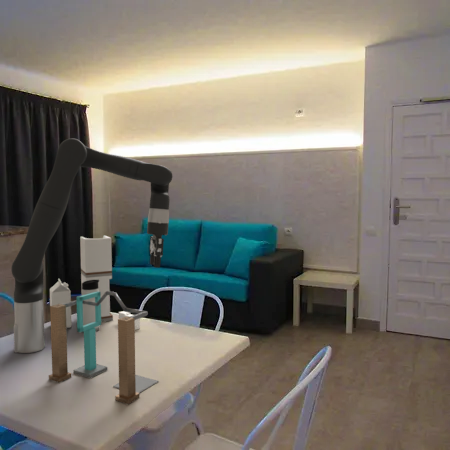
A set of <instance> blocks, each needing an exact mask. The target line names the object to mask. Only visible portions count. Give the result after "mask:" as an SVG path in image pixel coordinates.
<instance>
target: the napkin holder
mask: <svg viewBox="0 0 450 450" xmlns="http://www.w3.org/2000/svg"><path fill="white" fill-rule="evenodd" d="M133 315H134V314H133V313H132V314H131V312H126V311H124V310H123V311H118V319H120V318H123V317H130V316H133ZM139 329H141V318H139V319H136V320H135V331H136V330H139Z"/></svg>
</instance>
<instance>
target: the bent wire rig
mask: <svg viewBox="0 0 450 450" xmlns="http://www.w3.org/2000/svg"><path fill="white" fill-rule="evenodd" d="M107 295H110V296H113V297H114V298H115V299H116V302H117V303H118V304H119V306H120V307H121V309H122V310H123V311H124V312H128V313H132V315H133V316H130V317H123V318H120V319H119V318H118V319H117V343H118V346H117V347H118V348H117V349H118V383H119V388H118V394H117V395H115V397H114V398H115V401H116V402H119V403H123V404H125V405H130V404H132V403H133V402H135V401H137V400H138V399H140V398H141V397H140V393H137V392H136V382H135V375H136V339H135V338H136V335H135V334H136V333H135V331H136V330H135V320H136V319H139V318H140V319H142V318H145V317H146V316H148V314H149V313H148V311H147V310H140V309H136V308H129V307H127V306H126V305H125V304H124V302H123V301H122V299H121V298H120V296H119V295H118V293H117V292H114V291H111V290H110V291H106V292H105V293H104V295H103V296H102V297H101V298H100V299H99V301H98V302H97V303H96V302H90V301H84V300H83V304H87V305H93V306H99V305H100V304H101V302H102V301H103V300H104V299H105V298H106V296H107ZM75 305H76V306H77V300H71V302H68V303H64V304H57V305H53V306H50V305H49V311H50V341H51V342H50V344H51V374H49V375H48V380H49V381H53V382H55V383H59V384H60V383H62V382H64V381H66V380H68V379H70V378H72V372H68V371H69V370H68V369H69V368H68V345H67V344H68V339H67V336H68V335H67V328H66V307H69V306H71V307H72V306H75Z"/></svg>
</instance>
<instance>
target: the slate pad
mask: <svg viewBox="0 0 450 450" xmlns="http://www.w3.org/2000/svg"><path fill="white" fill-rule="evenodd" d="M135 382H136V392H137V393H139V394H141V393H142V392H144V391H146V390H147V389H149V388H151V387H152V386H155V384H158V383H159V382H160V381H159V380H158V379H157V380H156V379H153V378H150V377H145V376H142V375H138V374H135ZM112 387H113V388H116V389H119V382H117V383H115V384H114V385H112Z"/></svg>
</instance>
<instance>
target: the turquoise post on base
mask: <svg viewBox="0 0 450 450" xmlns="http://www.w3.org/2000/svg"><path fill="white" fill-rule="evenodd" d="M94 297H95V302H96V303H97V302H98V301H99V299H100V298H101V292H99V291H97V292H93V293H90V294H86V295H82V294H81V295H78V296H76V300H77V304H76V331H77V333H83V349H84V354H83V356H84V357H83V358H84V365H82V366H79V367H77V368H74V369H73V374H74V375H78V376H82V377H83V378H84V377H85V378H88V379H91V378H94V377H95V376H97V375H100V374H102V373H103V372H106V371H108V366H106V365H102V364H98V363H97V346H96V345H97V343H96V342H97V340H96V336H97V335H96V334H97V333H96V332H97V331H95V328H94V327H97V326H99V327H100V326H101V325H102V322H101V304H100V305H99V306H95V322H93V323H90V324H87V325H84V326H83V300H87V299H90V298H94Z"/></svg>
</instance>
